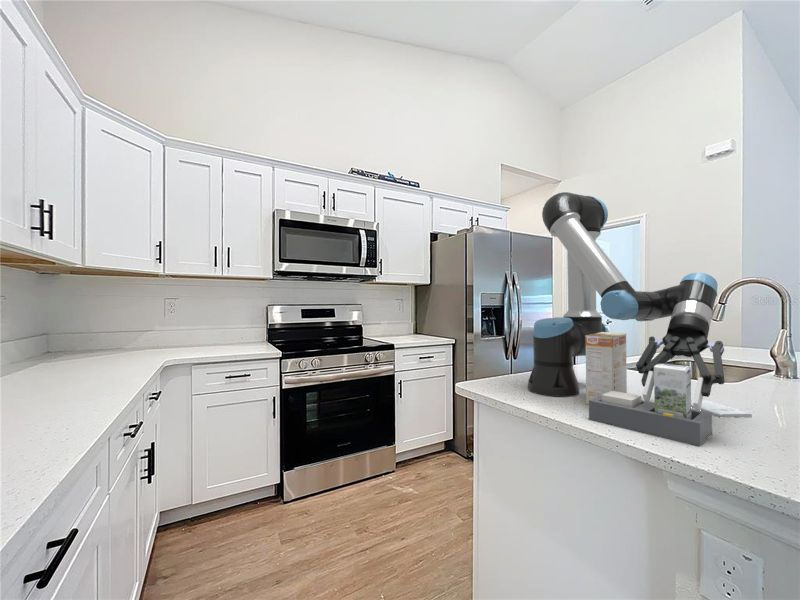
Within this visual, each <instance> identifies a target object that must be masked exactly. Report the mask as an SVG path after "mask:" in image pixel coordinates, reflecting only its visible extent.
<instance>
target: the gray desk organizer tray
mask: <svg viewBox="0 0 800 600" xmlns="http://www.w3.org/2000/svg"><path fill="white" fill-rule="evenodd" d="M691 415H692V420H691V419H686V418H681V417H676V416H674V414H669V413H663V414H661V413H656V412H655V401H654V402H653V401H649V402H646V401H645V399H644V400H642V395H641V394H640V395H639V394H633V393H628V392H627V393H622V392H617V391H610V392H608V393H605V394H602V396H599V397H597V398H594V399H592V400H589V405H588V420H592V421H596V422H599V423H604V424H608V425H612V426H615V427H619V428H623V429H629V430H631V429H632V431H636V432H639V433H640V432H641V433H644V432H645V434H648V433H649V435H652V436H657V437H660V438H666V439H670V440H673V441H677V442H681V443H685V444H689V443H690V444H689V445H693V444H694V445H693V446H697V447H701V446H702V445H703V444H704V443H705V442H706V441H707V440H708V439H709V438H710V437H711V436H712V435H713V415H712V413H709V412H704V411H695V409H693V408H691ZM711 434H712V435H711ZM710 435H711V436H710ZM709 436H710V437H709ZM708 437H709V438H708Z"/></svg>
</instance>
